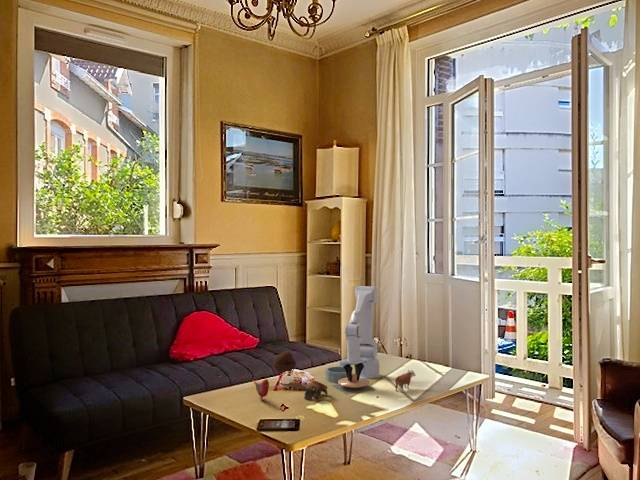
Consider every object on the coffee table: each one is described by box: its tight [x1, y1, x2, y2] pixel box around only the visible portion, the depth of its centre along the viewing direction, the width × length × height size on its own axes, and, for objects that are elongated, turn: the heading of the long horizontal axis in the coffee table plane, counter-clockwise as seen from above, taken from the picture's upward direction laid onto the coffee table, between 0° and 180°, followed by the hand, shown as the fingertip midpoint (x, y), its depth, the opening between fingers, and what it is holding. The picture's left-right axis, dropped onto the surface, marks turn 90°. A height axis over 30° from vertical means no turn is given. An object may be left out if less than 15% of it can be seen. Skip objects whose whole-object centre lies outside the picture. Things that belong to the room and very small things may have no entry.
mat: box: [331, 383, 376, 395], centre depth 248 cm, size 15×15×1 cm
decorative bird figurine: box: [252, 378, 270, 402], centre depth 232 cm, size 3×18×10 cm, turn 27°
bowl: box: [325, 365, 348, 384], centre depth 262 cm, size 12×12×5 cm
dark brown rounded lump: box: [272, 350, 297, 375], centre depth 257 cm, size 11×11×15 cm
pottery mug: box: [303, 380, 329, 402], centre depth 234 cm, size 12×10×8 cm
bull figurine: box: [394, 369, 416, 392], centre depth 246 cm, size 4×13×8 cm, turn 137°
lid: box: [337, 373, 370, 388], centre depth 248 cm, size 14×14×5 cm
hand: (353, 380), depth 248 cm, fingers closed on lid, 3 cm apart
